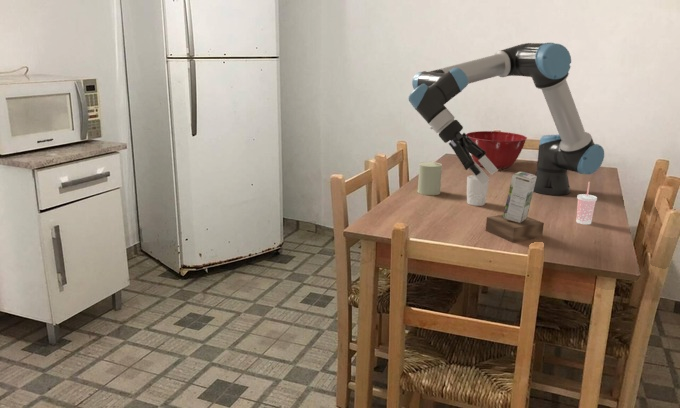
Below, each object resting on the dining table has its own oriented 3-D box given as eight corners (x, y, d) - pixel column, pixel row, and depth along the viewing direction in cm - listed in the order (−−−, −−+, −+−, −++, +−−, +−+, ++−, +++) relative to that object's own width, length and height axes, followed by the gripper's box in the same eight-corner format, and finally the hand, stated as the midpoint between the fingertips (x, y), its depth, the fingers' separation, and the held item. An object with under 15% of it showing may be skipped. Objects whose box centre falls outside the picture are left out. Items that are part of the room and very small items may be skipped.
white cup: (482, 207, 202) (485, 180, 199) (462, 204, 206) (464, 178, 203) (489, 202, 208) (491, 176, 206) (469, 199, 212) (471, 174, 210)
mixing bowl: (531, 173, 259) (535, 140, 255) (470, 172, 259) (473, 139, 255) (514, 161, 286) (517, 131, 282) (458, 160, 287) (461, 130, 282)
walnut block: (514, 227, 181) (515, 212, 180) (541, 238, 171) (543, 222, 170) (485, 232, 176) (486, 217, 175) (512, 243, 166) (514, 228, 164)
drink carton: (509, 214, 176) (518, 170, 171) (527, 219, 173) (537, 175, 168) (502, 218, 171) (511, 173, 167) (521, 224, 168) (531, 178, 164)
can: (440, 196, 217) (442, 165, 214) (416, 194, 219) (418, 164, 216) (440, 190, 226) (442, 161, 223) (418, 188, 228) (419, 160, 224)
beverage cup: (581, 218, 190) (586, 178, 186) (597, 223, 185) (603, 182, 181) (569, 221, 187) (575, 180, 183) (586, 226, 182) (592, 184, 178)
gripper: (447, 129, 189) (489, 176, 187) (426, 140, 168) (473, 193, 166) (464, 114, 186) (506, 162, 184) (444, 123, 164) (492, 178, 162)
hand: (490, 177), depth 175 cm, fingers open, 13 cm apart
